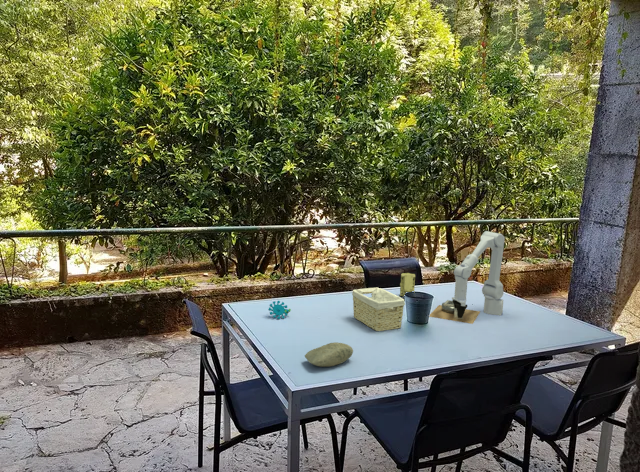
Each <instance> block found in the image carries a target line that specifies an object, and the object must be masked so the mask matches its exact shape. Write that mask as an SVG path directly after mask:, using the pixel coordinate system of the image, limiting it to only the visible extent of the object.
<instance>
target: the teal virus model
mask: <svg viewBox="0 0 640 472" xmlns="http://www.w3.org/2000/svg"><path fill="white" fill-rule="evenodd" d="M268 311H269V315H270V316H271V315H272V318H274V319H277V320H280V319H285V317H287V316H288V315H289V312H291V311H292V310H291V308H289V309H288V305H287V304H285V302H283V301H282V302H281V301H280V300H277V301H276V300H275V301H272V303H270V304H269V307H268Z"/></svg>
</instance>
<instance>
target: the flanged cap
mask: <svg viewBox="0 0 640 472" xmlns="http://www.w3.org/2000/svg"><path fill="white" fill-rule="evenodd" d="M454 311H455V312H454V318H456V319H463V317H462V318H458V316H457V308H454Z"/></svg>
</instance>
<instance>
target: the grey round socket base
mask: <svg viewBox="0 0 640 472" xmlns="http://www.w3.org/2000/svg"><path fill="white" fill-rule="evenodd" d="M441 305H442V309H441V310H442V311H443V312H446V313H450V314H454V312H455V311H454V304H453V301H452V299H451V300H449V299H447V300H446V301H445V302H442V303H441ZM464 313H465V311H464Z"/></svg>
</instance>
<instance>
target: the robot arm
mask: <svg viewBox="0 0 640 472" xmlns="http://www.w3.org/2000/svg"><path fill="white" fill-rule="evenodd" d="M505 239H506V237H505V236H504V234H502V233H499V232H492V231H488V230H485V231H484V232H483V233H482V234H481V236H480V241H479V243H478V244H477V246H476V247H475V248H474V250H473V251H472V253H470V254H468V255H466V257H465V258H464V259H463V260H462V262H461V263H460V265H457V266H456V267H455V268H454V271H453V274H454V279H455V286H454V296H453V297H451V301H453V304H454V308H457V316H458V318H462V317H463V314H464V311H465V309H468V304H466V302H467V293H468V292H467V290H468V281H469V278H470V277H471V275H472V271H473V268H475V266H476V265H477V264H478V262H479V257H480V256H481V255H482V254H483V253H484V252H485V251H486V250H487V249H488V248H490V249H491V251H492V252H491V258H490V263H489V273H488V279H486V280H484V282H483V285H482V288H481V293H482V295H483V297H484V302H483V313H484V314H486V315H492V316H499V317H500V316H502V315H503V312H504V311H503V309H504V299H502V297H503V296H504V285H503V283H502V281H500V276H501V269H502V262H503V256H504V255H503V254H504V247H505Z"/></svg>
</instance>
